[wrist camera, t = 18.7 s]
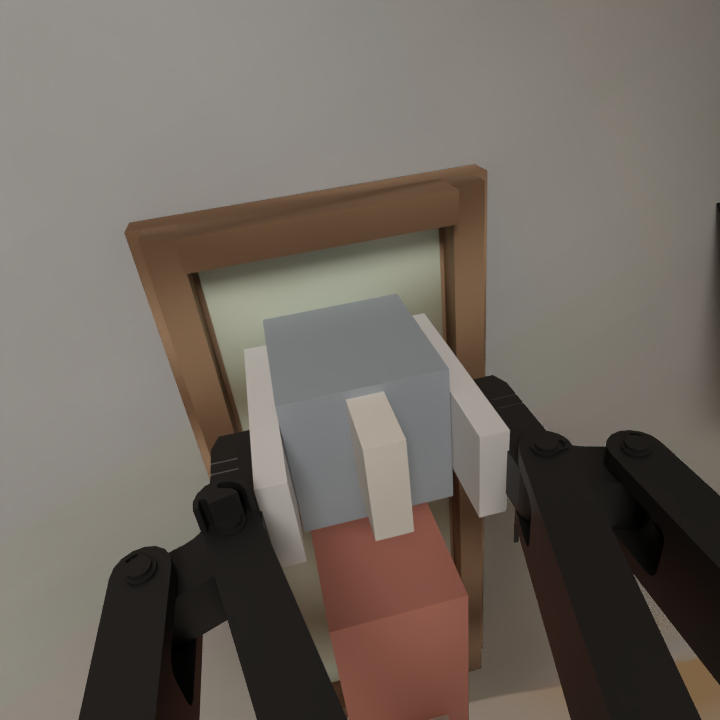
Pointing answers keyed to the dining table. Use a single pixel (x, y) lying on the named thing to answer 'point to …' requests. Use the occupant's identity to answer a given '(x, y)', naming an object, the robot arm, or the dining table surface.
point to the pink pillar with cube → (395, 620)
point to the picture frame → (315, 291)
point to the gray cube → (361, 413)
